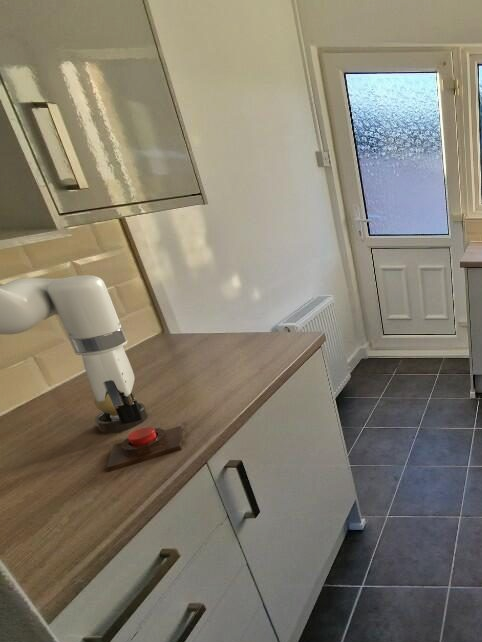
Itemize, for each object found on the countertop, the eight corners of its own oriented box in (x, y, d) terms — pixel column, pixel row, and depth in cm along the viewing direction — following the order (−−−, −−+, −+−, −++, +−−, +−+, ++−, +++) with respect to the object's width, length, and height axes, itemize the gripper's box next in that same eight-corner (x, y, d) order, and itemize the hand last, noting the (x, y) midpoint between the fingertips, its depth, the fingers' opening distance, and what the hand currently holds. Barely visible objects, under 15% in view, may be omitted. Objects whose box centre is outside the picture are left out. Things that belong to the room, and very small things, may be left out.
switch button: (129, 449, 86) (126, 442, 86) (132, 438, 90) (129, 431, 89) (156, 441, 89) (153, 434, 88) (157, 431, 92) (155, 424, 91)
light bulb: (116, 434, 94) (98, 397, 90) (101, 427, 96) (83, 390, 92) (148, 419, 99) (133, 383, 95) (133, 413, 102) (118, 378, 98)
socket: (99, 442, 93) (91, 427, 91) (105, 424, 99) (99, 410, 97) (148, 429, 97) (142, 414, 95) (151, 412, 104) (145, 398, 102)
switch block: (108, 472, 84) (102, 460, 82) (115, 449, 90) (109, 438, 89) (181, 450, 90) (177, 438, 89) (183, 429, 97) (178, 419, 95)
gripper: (80, 332, 83) (114, 409, 90) (62, 359, 72) (102, 445, 79) (129, 324, 87) (158, 399, 94) (119, 349, 76) (152, 431, 83)
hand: (132, 420), depth 87 cm, fingers closed
